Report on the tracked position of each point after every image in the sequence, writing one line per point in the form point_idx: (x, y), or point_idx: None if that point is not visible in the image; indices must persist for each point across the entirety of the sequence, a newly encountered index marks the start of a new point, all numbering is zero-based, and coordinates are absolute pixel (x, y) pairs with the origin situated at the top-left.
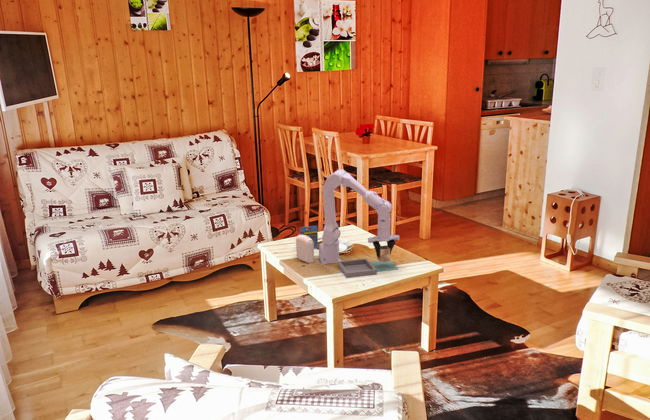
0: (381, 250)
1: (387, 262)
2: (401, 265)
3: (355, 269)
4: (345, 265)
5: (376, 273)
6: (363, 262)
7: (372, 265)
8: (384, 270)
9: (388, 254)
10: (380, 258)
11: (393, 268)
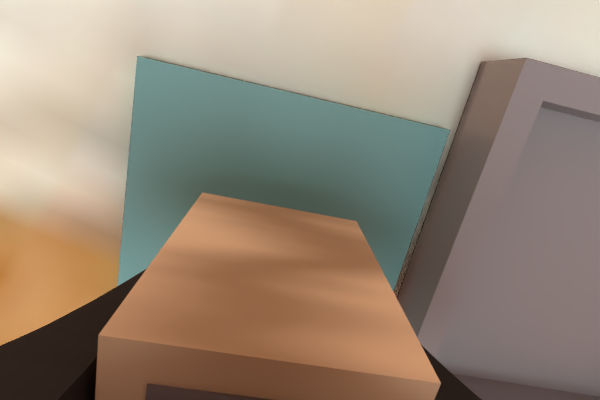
0: (413, 358)
1: None
2: (39, 169)
3: (580, 287)
4: (589, 396)
5: (495, 62)
6: None
7: (467, 223)
8: (335, 110)
9: (204, 249)
10: (367, 253)
11: (194, 109)
